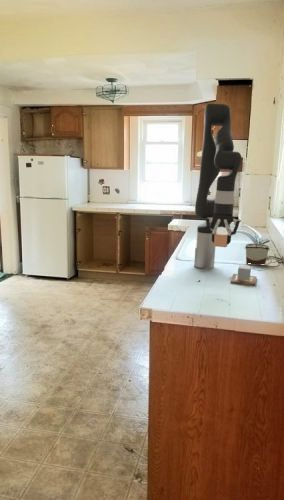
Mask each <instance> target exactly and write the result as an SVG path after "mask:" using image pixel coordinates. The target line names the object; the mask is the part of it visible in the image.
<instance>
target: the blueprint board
mask: <svg viewBox="0 0 284 500" xmlns="http://www.w3.org/2000/svg"><path fill="white" fill-rule="evenodd" d="M237 278H238V273H233V274H232V277H231V279H230V284H234V285H242V286H249V287H250V286H251V287H256V282H257V276H254V275H250V280H249V281H248V280H239V279H237Z"/></svg>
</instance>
